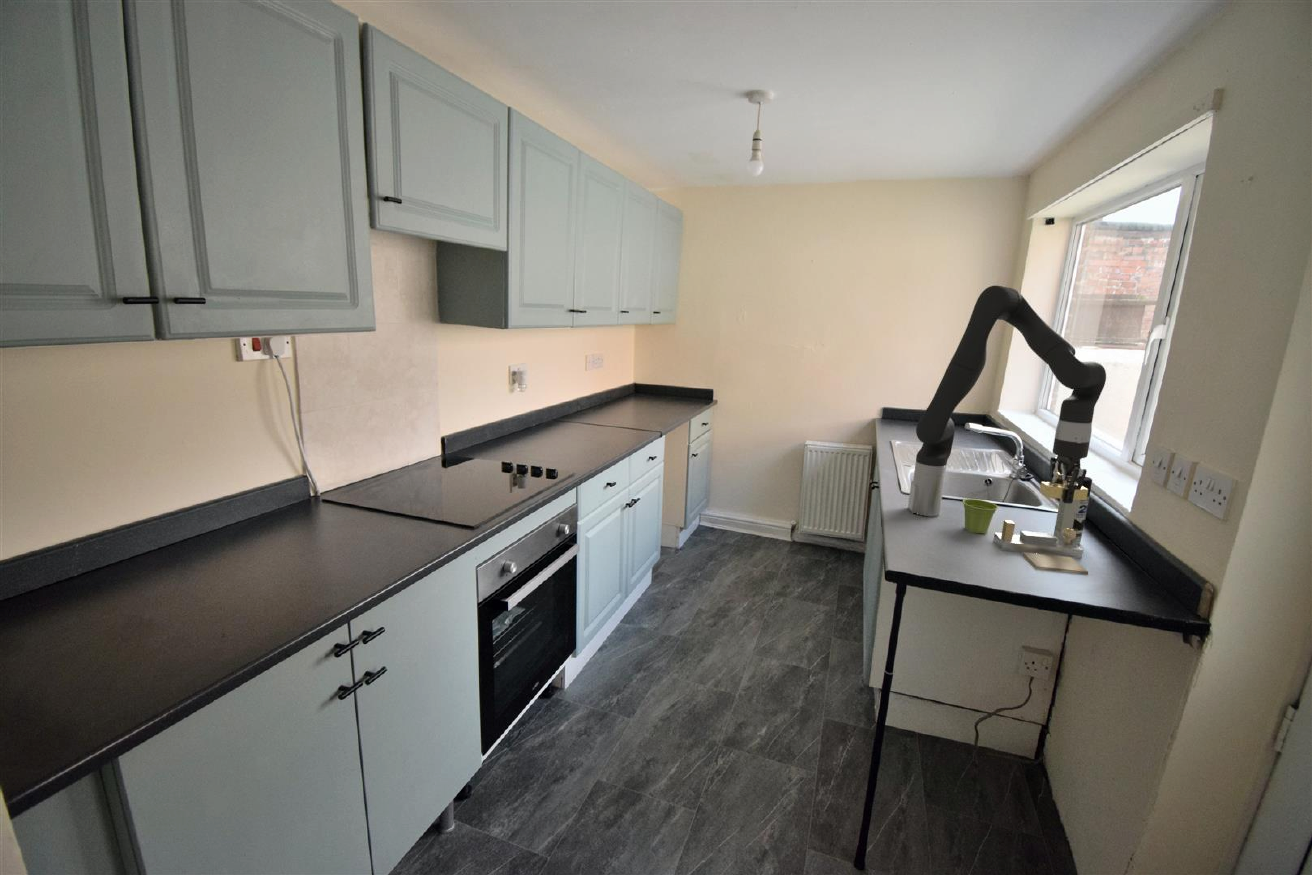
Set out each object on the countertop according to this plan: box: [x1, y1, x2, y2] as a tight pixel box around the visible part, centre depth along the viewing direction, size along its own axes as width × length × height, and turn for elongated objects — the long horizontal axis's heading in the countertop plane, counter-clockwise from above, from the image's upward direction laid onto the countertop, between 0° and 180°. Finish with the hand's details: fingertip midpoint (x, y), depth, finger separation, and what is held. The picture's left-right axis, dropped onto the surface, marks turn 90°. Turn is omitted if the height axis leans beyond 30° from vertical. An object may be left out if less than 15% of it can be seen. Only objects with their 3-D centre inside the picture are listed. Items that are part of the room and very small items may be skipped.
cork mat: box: [1022, 552, 1089, 575], centre depth 151 cm, size 12×9×1 cm
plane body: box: [992, 519, 1084, 559], centre depth 160 cm, size 20×7×8 cm, turn 78°
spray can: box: [1053, 476, 1093, 546], centre depth 165 cm, size 7×7×20 cm
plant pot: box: [962, 498, 999, 535], centre depth 173 cm, size 9×9×9 cm
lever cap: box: [1039, 481, 1088, 500], centre depth 150 cm, size 9×5×4 cm, turn 79°
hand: (1061, 499), depth 151 cm, fingers closed on lever cap, 5 cm apart
